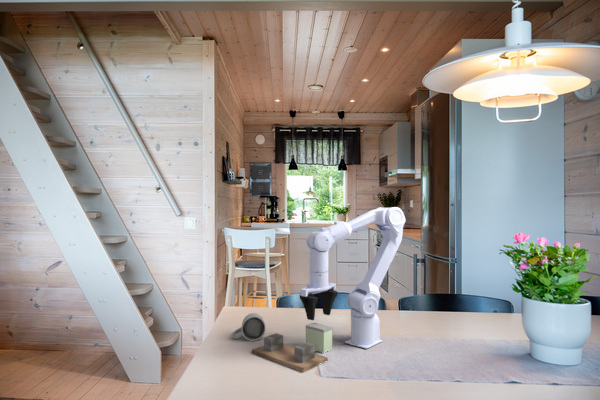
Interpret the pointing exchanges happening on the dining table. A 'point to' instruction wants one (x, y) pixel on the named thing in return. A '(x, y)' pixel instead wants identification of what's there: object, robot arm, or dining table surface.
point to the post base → (289, 353)
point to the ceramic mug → (251, 328)
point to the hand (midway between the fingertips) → (318, 317)
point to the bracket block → (319, 336)
